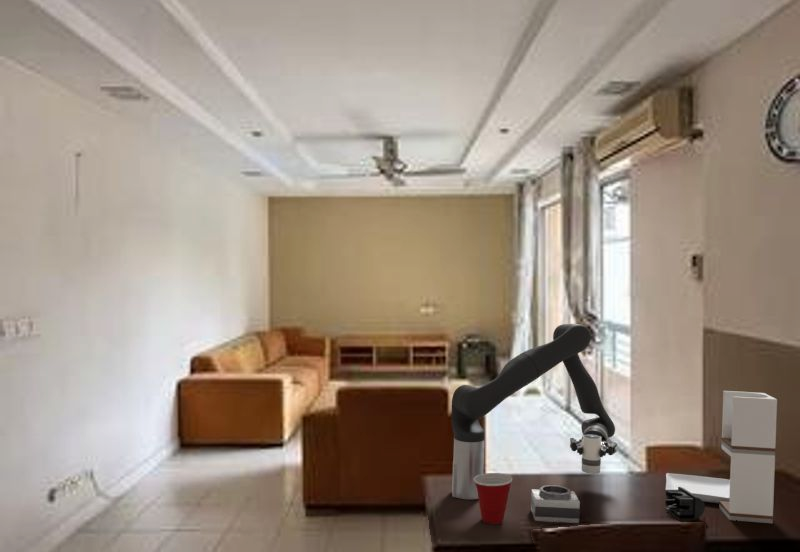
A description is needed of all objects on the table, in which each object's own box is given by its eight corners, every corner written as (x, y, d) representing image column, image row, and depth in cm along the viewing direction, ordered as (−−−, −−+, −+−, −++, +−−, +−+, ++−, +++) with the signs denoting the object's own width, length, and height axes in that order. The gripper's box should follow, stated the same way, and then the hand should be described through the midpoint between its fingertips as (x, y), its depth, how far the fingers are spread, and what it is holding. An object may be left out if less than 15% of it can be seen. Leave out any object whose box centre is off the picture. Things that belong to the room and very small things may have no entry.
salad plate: (665, 500, 222) (665, 489, 222) (665, 481, 242) (666, 471, 242) (740, 510, 214) (741, 498, 214) (735, 490, 234) (735, 479, 234)
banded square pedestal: (534, 520, 199) (535, 493, 199) (530, 509, 208) (531, 483, 208) (579, 523, 198) (580, 496, 198) (573, 511, 207) (574, 486, 207)
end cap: (704, 521, 203) (705, 497, 203) (680, 521, 202) (681, 497, 202) (687, 509, 213) (688, 486, 213) (664, 509, 212) (665, 486, 212)
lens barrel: (583, 473, 206) (584, 437, 205) (579, 468, 211) (581, 433, 211) (602, 474, 205) (603, 438, 205) (598, 468, 211) (599, 434, 210)
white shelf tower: (760, 510, 213) (764, 392, 213) (772, 523, 203) (777, 399, 202) (719, 507, 215) (723, 390, 214) (729, 519, 204) (734, 397, 204)
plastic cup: (470, 512, 204) (471, 470, 204) (508, 514, 203) (510, 472, 203) (473, 526, 193) (474, 482, 193) (513, 528, 193) (515, 483, 192)
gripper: (571, 424, 224) (565, 436, 208) (619, 429, 219) (617, 442, 203) (570, 448, 224) (564, 462, 208) (618, 454, 219) (616, 468, 203)
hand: (591, 452), depth 206 cm, fingers closed on lens barrel, 5 cm apart
